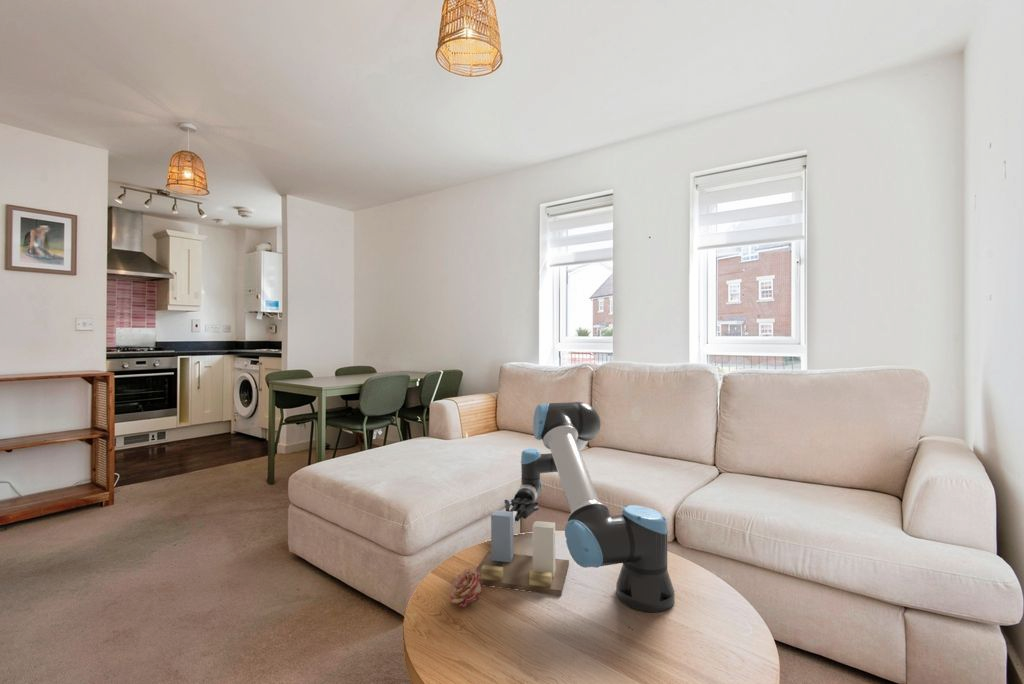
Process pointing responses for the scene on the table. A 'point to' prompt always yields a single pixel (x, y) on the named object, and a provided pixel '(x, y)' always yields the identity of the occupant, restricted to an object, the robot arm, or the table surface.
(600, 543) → the robot arm
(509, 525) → the light blue tall block
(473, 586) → the flower
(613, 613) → the table surface
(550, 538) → the key cream
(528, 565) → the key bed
